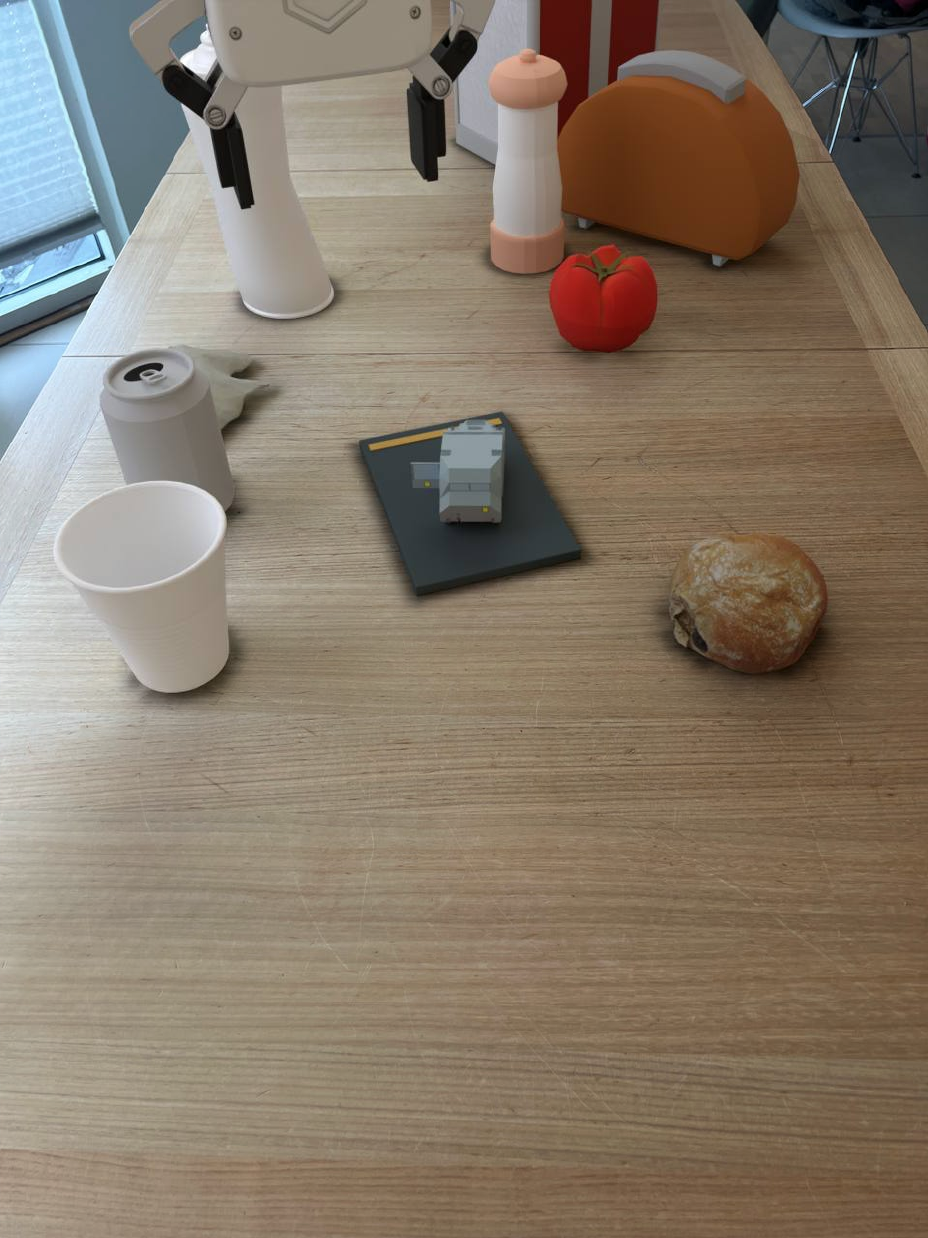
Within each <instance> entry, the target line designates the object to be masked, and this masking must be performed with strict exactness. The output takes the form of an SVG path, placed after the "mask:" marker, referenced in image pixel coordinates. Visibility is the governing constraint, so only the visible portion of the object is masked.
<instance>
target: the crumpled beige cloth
mask: <svg viewBox="0 0 928 1238" xmlns="http://www.w3.org/2000/svg"><path fill="white" fill-rule="evenodd" d="M167 348H168V349H173V350H178V351H181V352H183V353H185V354H187V355H189V356H190V357H191V358H192V360H193V361H194V362H195V367H196V368H198V369H200V370H202V371H203V373H204V374H205V375H206V376H207V378H208V381H209V385H210V389H211V393H212V397H213V401H214V405H215V409H216V414H217V418H218V422H219V426H220V430H221V431H222V430H223V429H224V428H225V427H226V426H227V425H228V424H229V423H230V422H232V421H233V420H235V419H238V418H239V417H240V415H241V413H242V411H243V408H244V402H245V399H246V398H248V397H250V396H251V395H253V394H254V393H256V392H258V391H260V390H263V389H266V388H268V387H269V386H270V385H271V382H269V381H260V380H252V379H243V378H242V379H241V378H236V377H232V375H234V374H237V373H242V372H243V371H244V370H245V369H247V368H248V367H249V366H251V364H253V362H255V359H254V357H252V356H251V355H250V354H248V353H242V352H241V353H240V352H236V351H233V350H229V349H206V348H198V347H192V346H188V345H185V344H179V345H173V346H171V345H170V346H168V347H167Z"/></svg>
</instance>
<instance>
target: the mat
mask: <svg viewBox="0 0 928 1238" xmlns="http://www.w3.org/2000/svg"><path fill="white" fill-rule="evenodd" d="M466 420H486V421H487V422H488V423H494V425H495V426H496V428H498V427H499V426H501V427H499V428H505V444H504V446H505V463H504V484H503V498H502V519H501V522H500V523H493V522H460V519H459V521H451V522H450V523H449V522H443V521H440V488H413V484H412V474H411V462H432V463H440V454H441V446H442V438H443V431H448V428H451V426H453V427H454V428H458V426H459V425H460V423H464V422H465V421H466ZM453 427H452V428H453ZM358 445H359V450H360V452H361V455H362V458H363V460H364V464H365V465H366V468H367V471H368V473H369V476H370V479H371V481H372V484H373V486H374V488H375V492H376V494H377V496H378V500H379V502H380V504H381V507H382V510H383V513H384V515H385V517H386V520H387V523H388V525H389V528H390V530H391V533H392V535H393V538H394V541H395V543H396V547H397V549H398V551H399V555H400V556H401V559H402V562H403V564H404V567H405V569H406V573H407V575H408V578H409V580H410V583H411V585H412V588H413V590H414V593H415V595H416V596H421V595H425V594H430V593H434V592H438V591H443V590H447V589H451V588H455V587H460V586H465V585H469V584H473V583H477V582H481V581H485V580H491V579H494V578H495V579H496V578H498V577H502V576H506V575H511V574H516V573H520V572H524V571H525V572H526V571H530V570H533V569H538V568H542V567H546V566H550V565H555V564H558V563H559V564H560V563H564V562H569V561H572V560H577V559H580V558H581V557H582V549H581V547H580V545H579V543H578V541H577V540H576V538H575V536H574V534H573V533H572V531H571V530H570V528H569V526H568V524H567V522H566V521H565V519H564V517H563V515H562V513H561V512H560V510H559V508H558V507H557V504H556V502H555V501H554V499H553V498H552V496H551V494H550V493H549V490H548V489H547V487H546V486H545V484H544V482H543V480H542V479H541V476H540V475H539V473H538V471H537V470H536V468H535V466H534V464H533V462H532V461H531V459H530V458H529V456H528V454H527V452H526V451H525V449H524V447H523V445H522V444H521V442H520V440H519V438H518V437H517V435H516V433H515V431H514V429H513V428H512V426H511V424H510V422H509V421H508V419H507V417H506V416H505V414H504V411H497V412H492V413H488V414H483V415H478V416H477V415H476V416H472V417H468V418H463V419H458V420H453V421H448V422H442V423H438V424H434V425H428V426H424V427H423V426H422V427H419V428H413V429H408V430H403V431H400V432H393V433H389V434H383V435H380V436H375V437H369V438H364V439H360V440H358Z"/></svg>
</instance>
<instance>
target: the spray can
mask: <svg viewBox="0 0 928 1238" xmlns="http://www.w3.org/2000/svg"><path fill="white" fill-rule="evenodd" d="M205 28H206V30H205V31H203V32H202V33H201V34H200V36H199V39H200V42H201V43H200V44H199V45H198V46H196V47H197V48H194V49H192V50H189V51H188V52H185V54H183V55H182V56H181V57H180V59H179V61H180V62H181V63H183V64H184V65H185V66H186V67H188V68H189V69H190V70H192V71H193V72H194V73H195V74H197V75H198V76H199V77H200V78H202V79H203V80H205V78H206V76H207V74H208V72H209V70H210V69H211V67H212V65H213V63H214V61H215V60H216V58H217V56H216V53H215V49H214V46H213V43H212V40H211V37H210V33H209V30H208V25H207V23H206V24H205ZM180 106H181V108H182V111H183V114H184V116H185V120H186V122H187V126H188V128H189V131H190V134H191V137H192V140H193V142H194V144H195V147H196V151H197V153H198V156H199V159H200V162H201V164H202V167H203V170H204V174H205V175H206V179H207V181H208V184H209V187H210V189H211V190H210V191H211V194H212V198H213V201H214V206H215V210H216V214H217V217H218V221H219V226H220V231H221V235H222V240H223V243H224V247H225V252H226V255H227V260H228V263H229V264H228V265H229V268H230V271H231V274H232V276H233V278H234V281H235V283H236V286H237V288H238V291H239V293H240V296H241V298H242V302H243V304H244V306H245V307H246V308H247V309H248V310H249V311H250V312H252V313H254V314H255V315H258V316H260V317H264V318H267V319H268V318H269V319H274V320H275V319H276V320H293V319H299V318H304V317H309V316H312V315H315V314H316V313H319V312H321V311H323V310H324V309H326V308H327V307H328V306H329V305H331V303H332V301H333V300H334V297H335V292H334V288H333V286H332V283H331V280H330V277H329V274H328V271H327V268H326V265H325V262H324V259H323V256H322V253H321V252H320V251H321V250H320V249H319V246H318V243H317V241H316V239H315V236H314V234H313V231H312V229H311V226H310V223H309V221H308V218H307V216H306V213H305V211H304V209H303V205H302V203H301V201H300V198H299V195H298V194H297V190H296V188H295V186H294V183H293V180H292V178H291V170H290V160H289V153H288V141H287V133H286V123H285V122H286V121H285V113H284V104H283V86H275V87H262V88H257V87H248V88H247V90H246V92H245V94H244V95H243V97H242V99H241V101H240V102H239V104H238V106H237V108H236V109H235V113H236V116H237V118H238V121H239V123H240V126H241V128H242V132H243V137H244V143H245V149H246V155H247V161H248V167H249V173H250V179H251V185H252V191H253V197H254V203H255V205H251V208H249V209H242V210H241V208H240V205H239V202H238V199H237V196H236V193H235V190H234V187H229V188H222V187H221V184H220V180H219V176H218V171H217V166H216V160H215V155H214V150H213V144H212V139H211V134H210V128H209V126H208V125H207V124H206V123H205V121H204V120H203V119H202V118H201V117H199V116H198V115H197V114H195V113H194V112H193V111H191V110H190V109H189V108H187V107H186V106H185V105H183V104H182V103H181V102H180Z"/></svg>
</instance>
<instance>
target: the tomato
mask: <svg viewBox="0 0 928 1238" xmlns="http://www.w3.org/2000/svg"><path fill="white" fill-rule="evenodd" d="M587 252H588V254H587V255H585V254H580V253H578V254H573V255H569V256H568V257H566V259H565V260H564V261H563V262H561V263H560V264H559V266H557V268H556V270H555V272H554V274H553V275H552V278H551V280H550V283H549V284H550V285H549V292H548V299H549V300H548V301H549V308H550V311H551V313H552V316H553V319H554V322H555V324H556V327H557V330H558V333H559V336H560V337H561V338H562V339H563V340H564V341H566V342H567V343H568V345H570V346H571V347H572V348H573V349H577V350H579V351H581V352H584V353H586V352H590V353H591V352H592V353H604V354H613V353H616V352H621V351H623V350H626V349H628V348H630V347H631V346H633V345H634V344H636V342H637V341H638V339H639V338H640V336H642V335H643V334H645V333H646V332H647V331H648V330H650V328H651V326H652V325H653V323H654V320H655V317H656V314H657V308H658V301H659V300H658V299H659V296H658V294H659V293H658V282H657V279H656V276H655V272H654V270H653V268H652V267H651V265H650V263H649V261H647V260H646V259H645V258H644V256H641V255H639V256H629V257H625V256H627V255H629V254H630V253H632V250H629V251H627V252H624V253H621V251H620V250H619V249H618V248H617V246H616V245H615V244H608V245H602V246H599V247H598V248H596V249H595V250H594V251H592V252H591V251H589V250H587Z"/></svg>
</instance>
